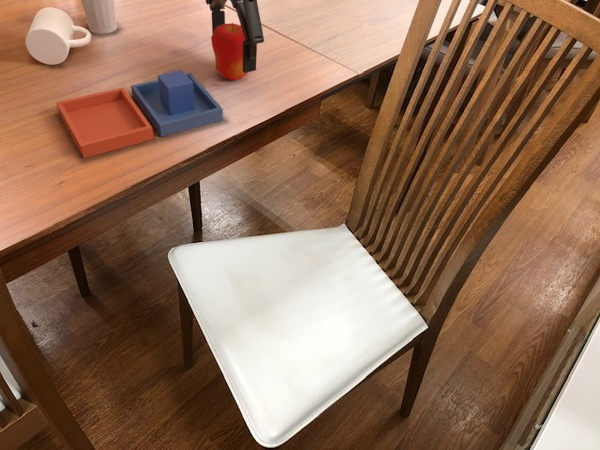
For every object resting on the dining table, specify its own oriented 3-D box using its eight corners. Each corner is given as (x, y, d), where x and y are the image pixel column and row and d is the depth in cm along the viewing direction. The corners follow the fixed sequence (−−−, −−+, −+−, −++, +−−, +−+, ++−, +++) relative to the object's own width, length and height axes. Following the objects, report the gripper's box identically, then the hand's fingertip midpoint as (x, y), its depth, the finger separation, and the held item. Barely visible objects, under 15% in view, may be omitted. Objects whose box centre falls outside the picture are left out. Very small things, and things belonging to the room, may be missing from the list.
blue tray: (132, 97, 101) (130, 85, 99) (190, 83, 106) (190, 72, 105) (161, 137, 93) (159, 125, 91) (222, 120, 99) (222, 108, 97)
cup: (91, 18, 122) (80, -35, 113) (124, 21, 122) (116, -31, 114) (80, 33, 117) (67, -21, 108) (114, 37, 117) (105, -17, 108)
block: (160, 102, 100) (157, 75, 95) (184, 96, 102) (182, 69, 97) (170, 115, 97) (167, 88, 93) (194, 109, 99) (193, 82, 95)
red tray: (59, 114, 95) (56, 102, 93) (125, 98, 100) (123, 87, 98) (83, 158, 87) (80, 146, 85) (154, 139, 92) (152, 127, 91)
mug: (31, 65, 105) (19, 28, 100) (40, 42, 112) (30, 6, 106) (92, 65, 108) (84, 29, 102) (97, 43, 114) (90, 7, 108)
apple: (258, 71, 113) (260, 19, 104) (241, 88, 107) (242, 35, 98) (224, 60, 114) (223, 8, 106) (205, 77, 109) (203, 24, 100)
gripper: (286, -31, 87) (279, 80, 102) (220, -76, 100) (222, 27, 116) (248, -25, 84) (246, 88, 99) (184, -73, 97) (192, 33, 113)
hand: (233, 55), depth 107 cm, fingers open, 13 cm apart
